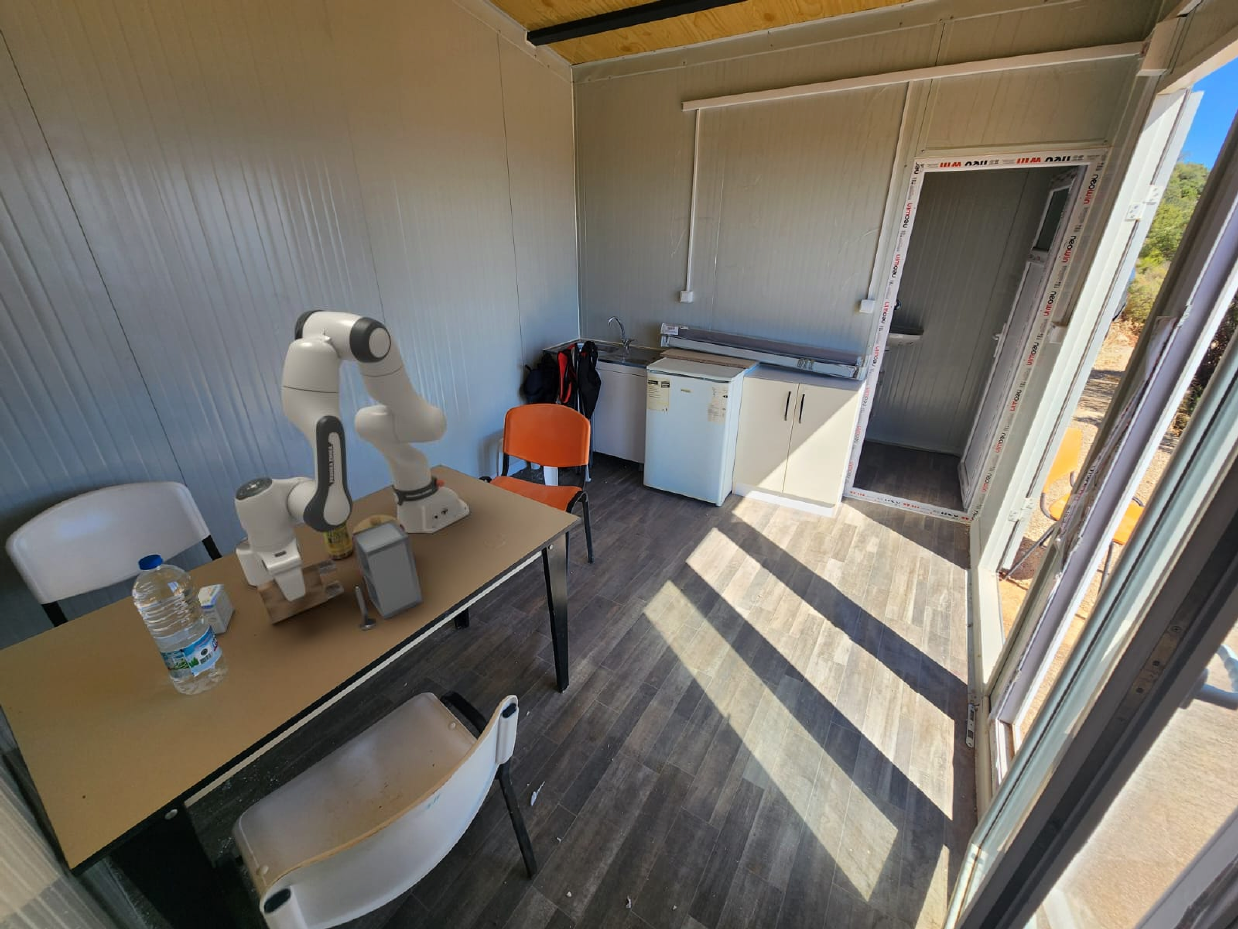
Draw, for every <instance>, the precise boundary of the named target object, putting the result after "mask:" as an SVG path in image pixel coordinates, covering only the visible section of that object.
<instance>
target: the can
mask: <svg viewBox="0 0 1238 929" xmlns="http://www.w3.org/2000/svg"><path fill="white" fill-rule="evenodd" d="M235 545H236V546H235V547H236V550H235V552H236V555H237V558H238V560H239V563H240V565H241V569H242V570H243V573H244V575H245V577H246V580H247V582H248V584H249V585H250V586H253V587H257V586H258V585H261V584H263V583H266V582H269V581H271V580H274V579H275V578H274V577H273V575H269V573H268V572H267V570H266V569H265V567H264V566H263V565H261V564H260V563H259V562H257V561H256V559H255V557H254V555H253V552H252V550H251V547H250V545H249V542H248V537H245V538H243V539H241V540H240V541H238V542H237V543H236V544H235Z"/></svg>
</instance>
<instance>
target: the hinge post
mask: <svg viewBox="0 0 1238 929" xmlns="http://www.w3.org/2000/svg"><path fill="white" fill-rule="evenodd" d="M354 591H355V595H356V599H357V601H358V606H359V608H360V609H359V610H360V612H361V616H362V619H363V620H362V621H361V622H360V623H359V629H360V630H362V631H369V630H371V629H373V628H375V626H376V625H377V621H376V619H375V618H371V617H370V616H369V613H368V608H367V606H366V602H365V598H364V595H363V591H362V587H361V586H360V585H357V586H355V587H354Z"/></svg>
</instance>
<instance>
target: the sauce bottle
mask: <svg viewBox="0 0 1238 929" xmlns="http://www.w3.org/2000/svg"><path fill="white" fill-rule="evenodd" d="M322 534H323V538H324V542H325V546H326V550H327V554H328V556H329V559H330V558H332V560H342V559H344V558H347V557H349V556H350V555H351V554H352V552H353V544H352V538H351V536H350V531H349V527H348V521H346V523H345V524H343V525H342V526H341V527H339V528H338V529H336V530H334V531H331V532H325V533H324V532H322Z"/></svg>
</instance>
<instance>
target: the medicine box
mask: <svg viewBox="0 0 1238 929" xmlns="http://www.w3.org/2000/svg"><path fill="white" fill-rule="evenodd" d="M197 596H198V598H199V601H200V603H201V606H202V609H203V611H204V613H205V614H206V617H207V619H209V623H210V625H211V626H212V628H213V631H214V632H215V635H219V634H223V633H226V631H227V629H228V626H229V625H230V624H229V623H230V620H231V619H232V616H233V613H234V610H235V609H234V607H233V605H232V602H231V600H230V597H229V595H228V592H227V590H226V587H225V585H224V584H223V583H218V584H214V585H209V586H204V587H201V588H200V589H199V592H198V594H197Z"/></svg>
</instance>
